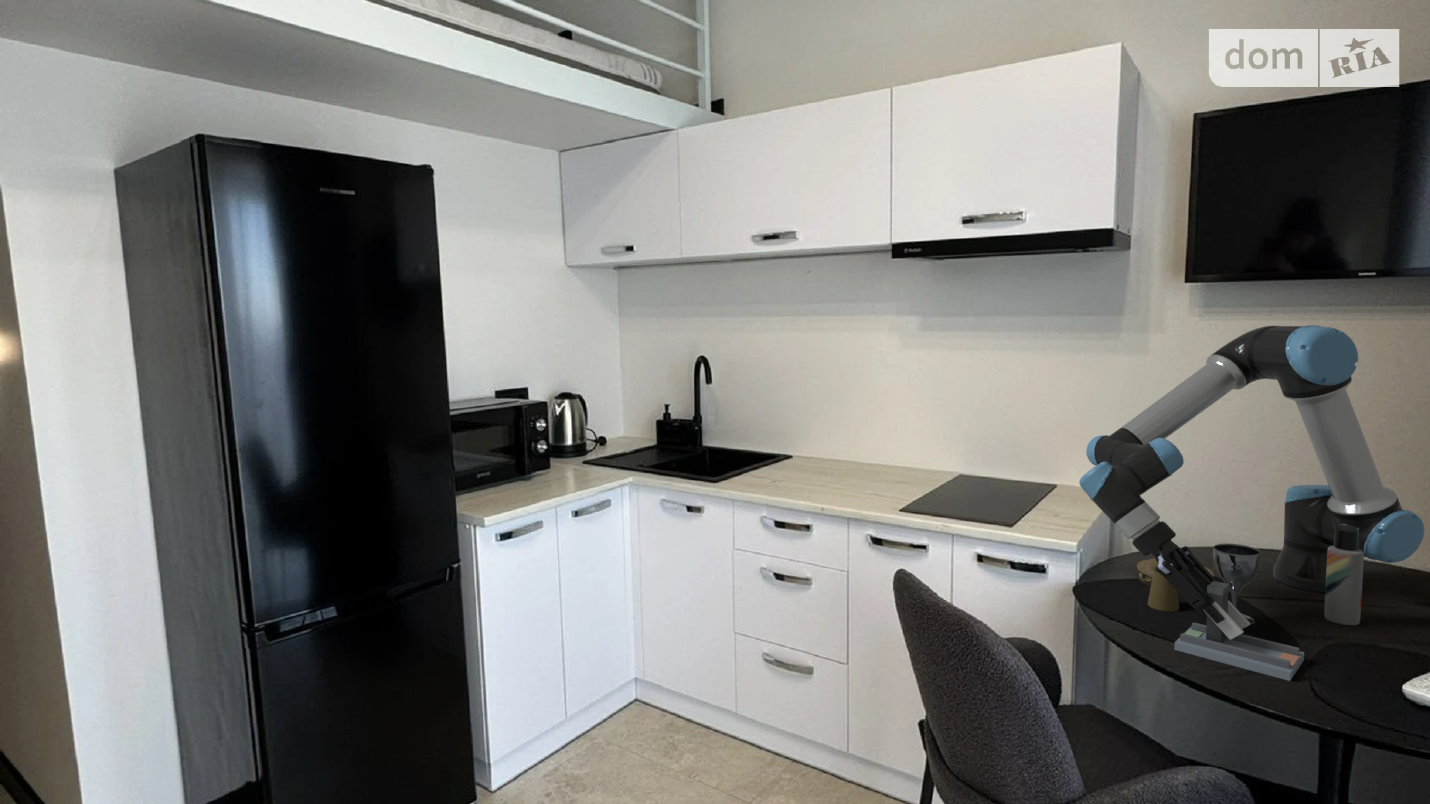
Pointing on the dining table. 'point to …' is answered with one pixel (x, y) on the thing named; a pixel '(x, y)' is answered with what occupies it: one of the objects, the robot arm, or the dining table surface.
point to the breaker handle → (1220, 595)
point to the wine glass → (1236, 567)
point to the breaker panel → (1243, 652)
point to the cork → (1162, 592)
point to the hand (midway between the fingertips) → (1240, 631)
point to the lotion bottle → (1344, 577)
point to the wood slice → (1150, 571)
